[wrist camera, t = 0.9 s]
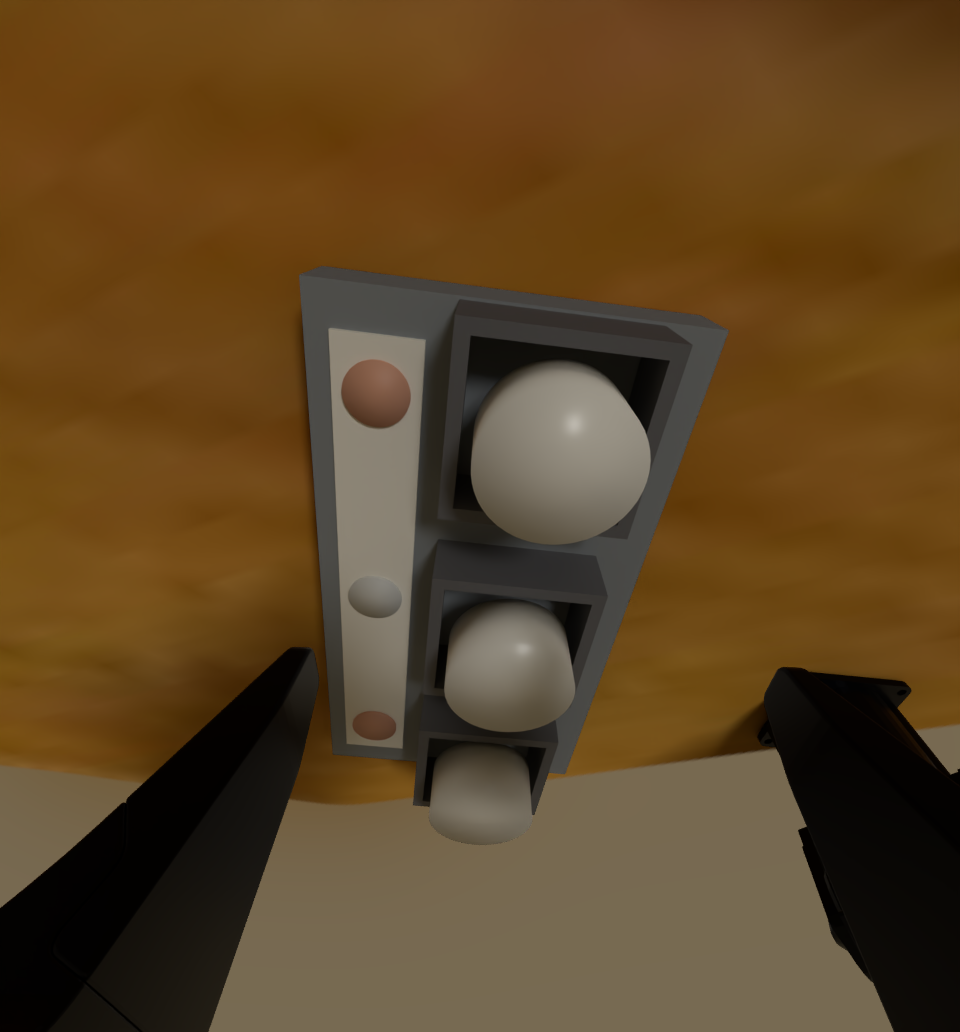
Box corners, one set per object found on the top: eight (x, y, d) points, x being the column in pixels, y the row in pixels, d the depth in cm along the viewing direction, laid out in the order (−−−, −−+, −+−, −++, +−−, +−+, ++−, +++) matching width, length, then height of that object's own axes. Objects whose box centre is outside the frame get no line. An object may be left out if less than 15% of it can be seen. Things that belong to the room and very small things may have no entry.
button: (649, 369, 15) (675, 396, 13) (607, 510, 18) (622, 552, 15) (483, 348, 15) (481, 372, 13) (465, 494, 17) (462, 535, 15)
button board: (701, 315, 18) (765, 350, 14) (559, 736, 32) (570, 818, 28) (322, 266, 18) (268, 286, 14) (343, 717, 32) (320, 798, 27)
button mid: (578, 605, 20) (589, 653, 18) (554, 686, 23) (560, 737, 20) (454, 592, 20) (450, 639, 18) (444, 676, 22) (439, 726, 20)
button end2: (536, 745, 25) (540, 795, 23) (520, 798, 28) (523, 848, 26) (437, 736, 25) (432, 786, 23) (431, 791, 27) (425, 840, 25)
